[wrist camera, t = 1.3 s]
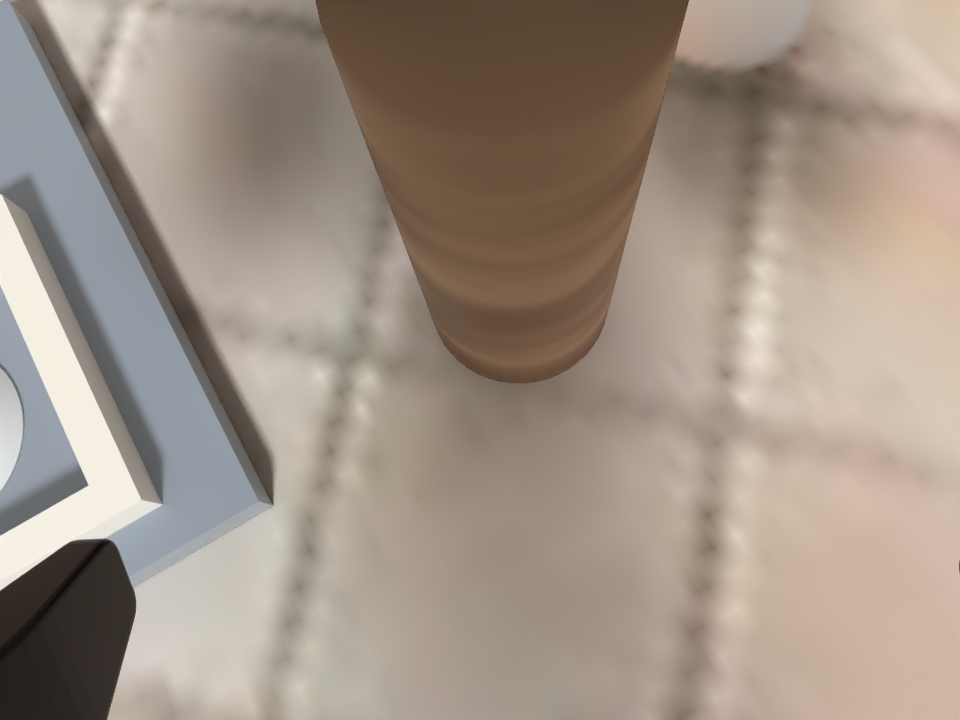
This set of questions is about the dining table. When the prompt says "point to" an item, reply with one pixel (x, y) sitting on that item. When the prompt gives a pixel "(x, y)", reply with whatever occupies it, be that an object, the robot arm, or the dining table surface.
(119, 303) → the baseplate
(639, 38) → the walnut column
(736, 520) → the dining table surface
